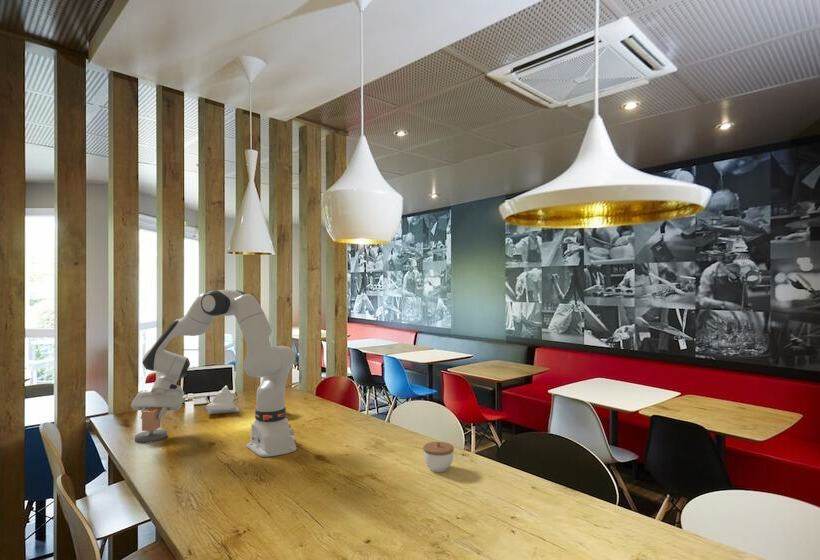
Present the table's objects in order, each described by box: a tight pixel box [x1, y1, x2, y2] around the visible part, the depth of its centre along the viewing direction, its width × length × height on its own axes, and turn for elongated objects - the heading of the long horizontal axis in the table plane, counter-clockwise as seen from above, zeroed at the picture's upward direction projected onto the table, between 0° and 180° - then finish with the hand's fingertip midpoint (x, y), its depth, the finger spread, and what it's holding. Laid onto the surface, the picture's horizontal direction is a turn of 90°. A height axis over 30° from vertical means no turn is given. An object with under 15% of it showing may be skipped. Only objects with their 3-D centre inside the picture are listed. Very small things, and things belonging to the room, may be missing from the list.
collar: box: [141, 408, 162, 432], centre depth 192 cm, size 5×5×8 cm
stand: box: [134, 429, 168, 444], centre depth 192 cm, size 12×12×11 cm
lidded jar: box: [423, 441, 455, 473], centre depth 160 cm, size 11×11×9 cm
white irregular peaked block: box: [205, 385, 240, 415], centre depth 231 cm, size 12×15×14 cm
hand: (150, 418), depth 191 cm, fingers closed on collar, 5 cm apart
